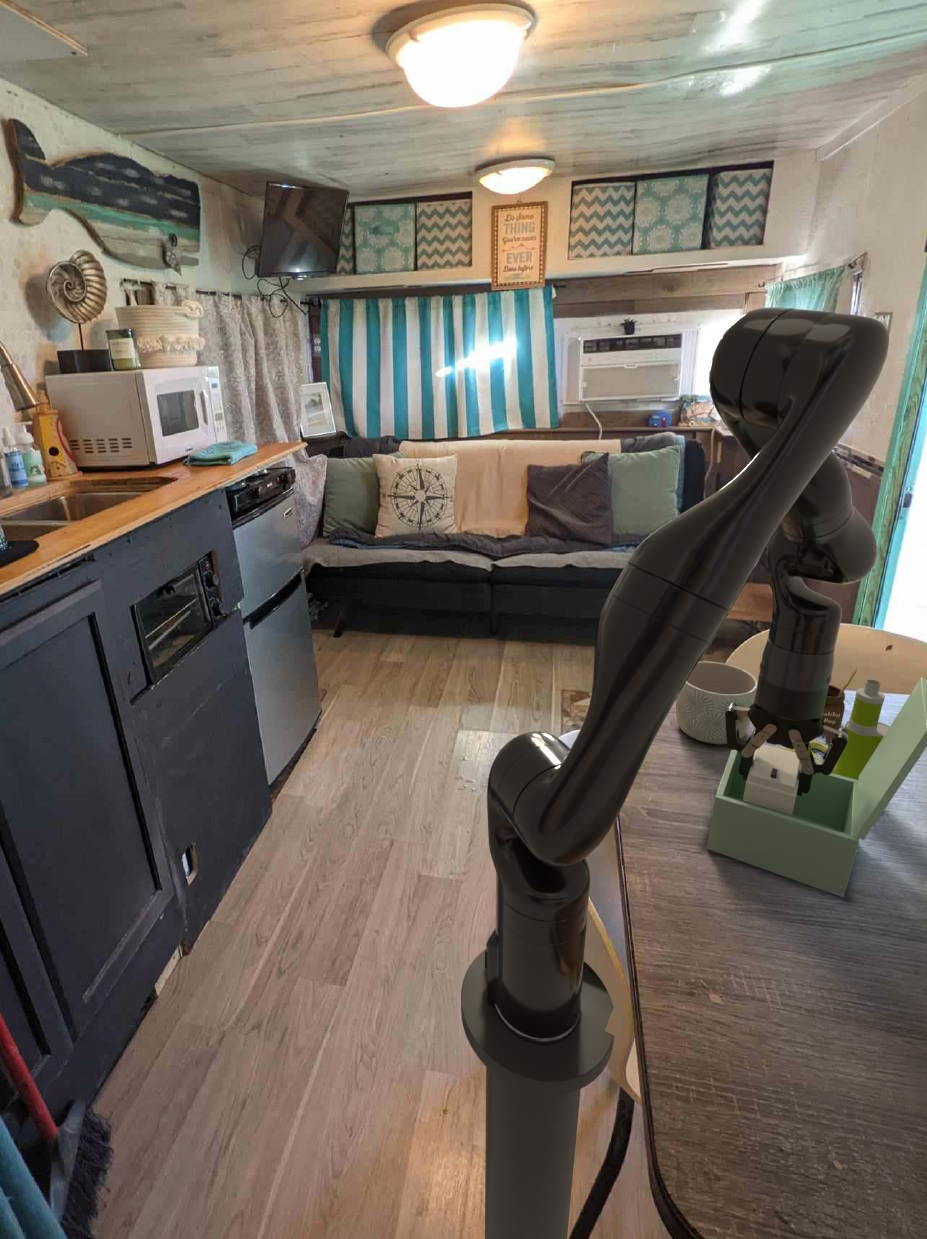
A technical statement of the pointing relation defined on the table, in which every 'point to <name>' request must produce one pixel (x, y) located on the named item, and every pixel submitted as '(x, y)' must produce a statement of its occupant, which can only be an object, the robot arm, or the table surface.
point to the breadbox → (790, 830)
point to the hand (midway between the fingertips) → (772, 784)
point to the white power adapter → (773, 779)
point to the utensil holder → (835, 705)
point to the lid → (892, 759)
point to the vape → (862, 731)
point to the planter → (713, 700)
